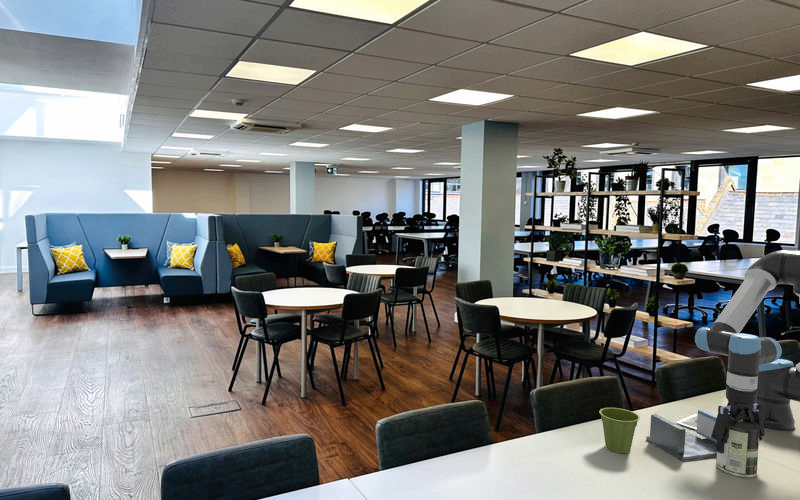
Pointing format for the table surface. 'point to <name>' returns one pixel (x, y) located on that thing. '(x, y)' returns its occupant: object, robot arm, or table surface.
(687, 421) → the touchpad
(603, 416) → the plant pot
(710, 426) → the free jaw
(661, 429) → the vise base
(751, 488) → the table surface
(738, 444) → the coffee can
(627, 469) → the table surface
